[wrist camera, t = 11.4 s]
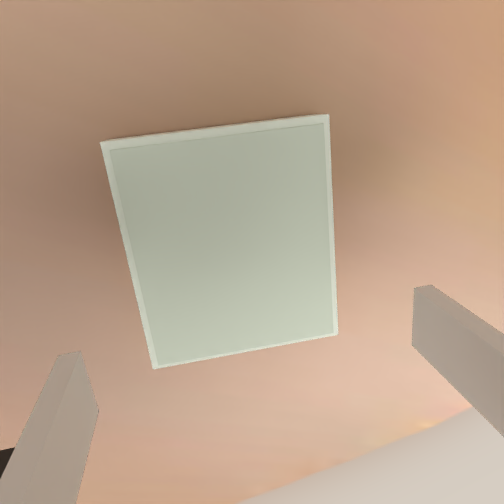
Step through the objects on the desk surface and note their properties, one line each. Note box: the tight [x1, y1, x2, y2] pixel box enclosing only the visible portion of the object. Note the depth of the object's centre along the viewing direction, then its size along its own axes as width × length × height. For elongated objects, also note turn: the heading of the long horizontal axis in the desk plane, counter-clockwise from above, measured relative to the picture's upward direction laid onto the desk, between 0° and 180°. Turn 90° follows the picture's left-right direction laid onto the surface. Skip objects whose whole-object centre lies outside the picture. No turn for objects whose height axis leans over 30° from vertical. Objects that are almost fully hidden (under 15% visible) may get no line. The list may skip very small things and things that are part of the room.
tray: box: [100, 114, 338, 369], centre depth 28 cm, size 14×16×3 cm
